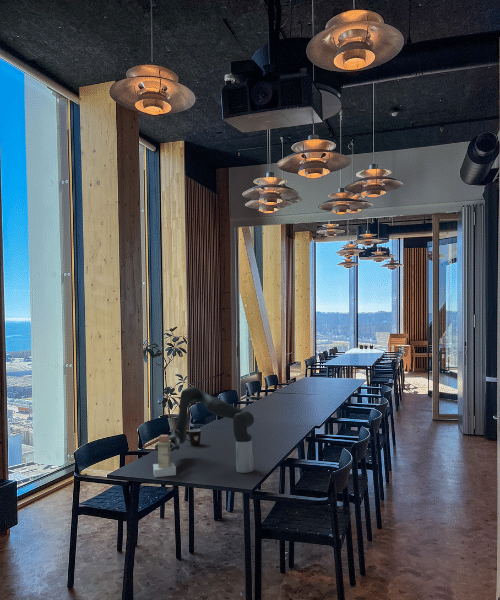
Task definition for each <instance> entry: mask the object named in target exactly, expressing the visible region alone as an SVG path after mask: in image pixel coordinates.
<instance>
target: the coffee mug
mask: <svg viewBox="0 0 500 600" xmlns="http://www.w3.org/2000/svg"><path fill="white" fill-rule="evenodd" d="M186 433H187V436H189V439H187V438H186V441H188V442H189V443H190V444H189V445H190V446H192V447H198V446H200V445H201V436H202V435H201V433H202V430H201V429H199V428H196V429H195V428H192V429H189V430H188V432H186Z"/></svg>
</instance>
